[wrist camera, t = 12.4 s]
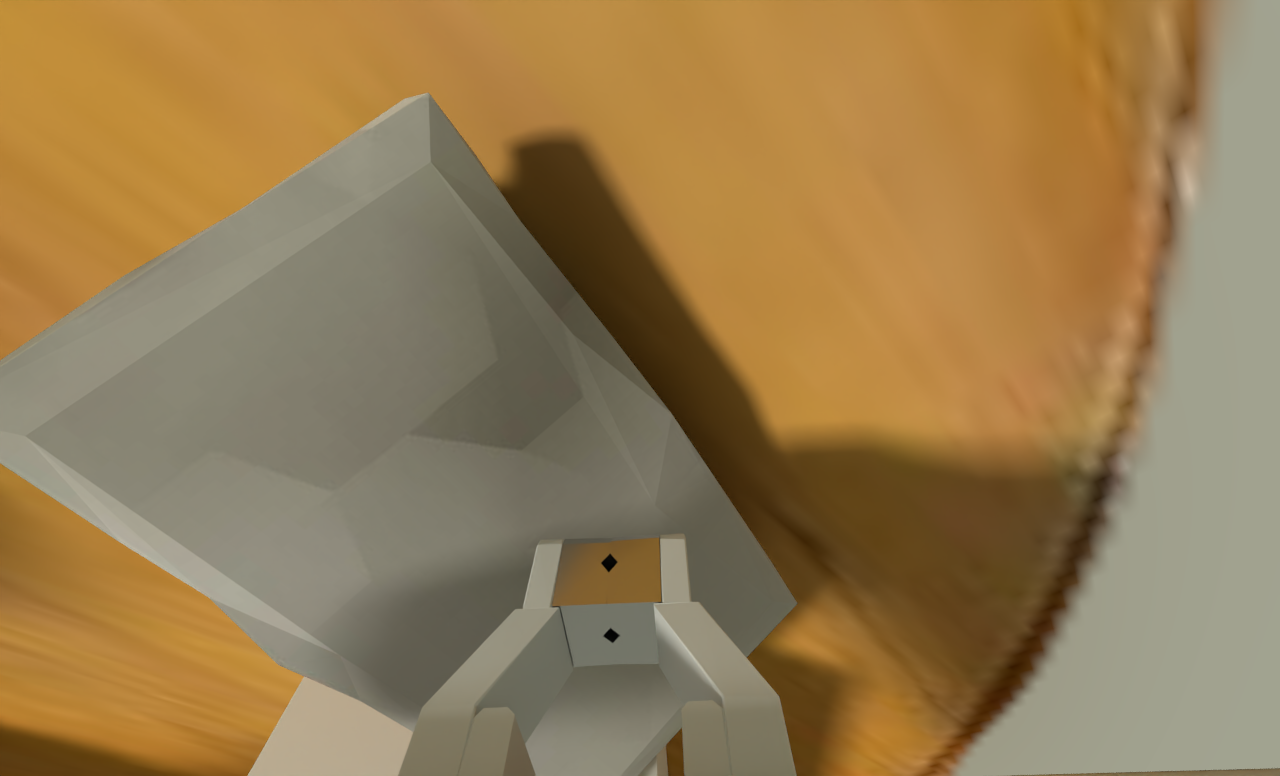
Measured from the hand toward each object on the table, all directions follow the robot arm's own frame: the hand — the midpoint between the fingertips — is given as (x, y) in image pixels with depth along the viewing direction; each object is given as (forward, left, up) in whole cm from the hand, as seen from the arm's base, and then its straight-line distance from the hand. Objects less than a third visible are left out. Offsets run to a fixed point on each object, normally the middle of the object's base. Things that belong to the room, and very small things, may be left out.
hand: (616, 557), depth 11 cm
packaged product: (0, 0, -6) cm, 6 cm away
